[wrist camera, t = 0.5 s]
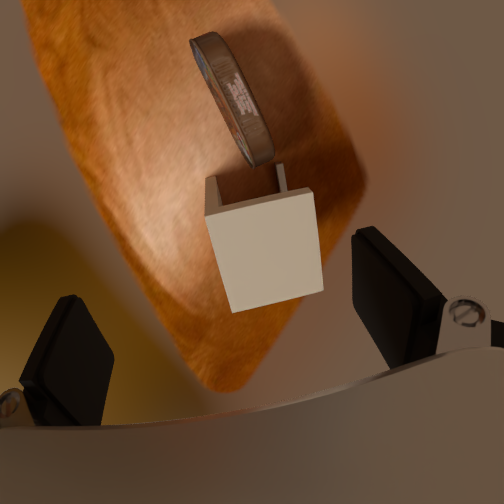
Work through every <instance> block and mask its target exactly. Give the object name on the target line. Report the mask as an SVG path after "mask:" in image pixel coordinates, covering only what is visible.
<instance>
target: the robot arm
mask: <svg viewBox="0 0 504 504" xmlns="http://www.w3.org/2000/svg"><path fill="white" fill-rule="evenodd" d="M351 245H352V296H353V297H352V299H353V305H354V308H355V310H356V312H357V314H358V315H359V317H360V319H361V320H362V322H363V323H364V325H365V327H366V328H367V330H368V332H369V334H370V335H371V337H372V338H373V340H374V342H375V344H376V345H377V347H378V349H379V350H380V352H381V354H382V356H383V357H384V359H385V361H386V363H387V364H388V366H389V368H390V370H388V371H385V372H382V373H379V374H376V375H373V376H370V377H366V378H363V379H360V380H357V381H354V382H350V383H347V384H344V385H340V386H337V387H333V388H330V389H326V390H323V391H319V392H316V393H312V394H308V395H304V396H301V397H296V398H293V399H288V400H284V401H280V402H275V403H271V404H266V405H262V406H256V407H252V408H247V409H241V410H236V411H231V412H225V413H219V414H213V415H207V416H200V417H193V418H185V419H177V420H168V421H159V422H149V423H138V424H123V425H103V426H101V421H102V416H103V410H104V405H105V400H106V396H107V391H108V386H109V382H110V377H111V373H112V369H113V364H114V354H113V352H112V350H111V348H110V347H109V345H108V344H107V342H106V340H105V339H104V337H103V335H102V334H101V332H100V330H99V328H98V327H97V325H96V323H95V321H94V320H93V318H92V316H91V315H90V313H89V311H88V309H87V307H86V305H85V303H84V302H83V300H82V299H81V298H78V297H77V296H76V295H69V296H65V297H61V298H60V299H59V300H58V302H57V304H56V306H55V307H54V309H53V311H52V313H51V315H50V317H49V319H48V320H47V322H46V324H45V326H44V328H43V330H42V332H41V334H40V337H39V338H38V340H37V342H36V344H35V346H34V348H33V351H32V352H31V355H30V357H29V359H28V361H27V363H26V365H25V368H24V370H23V372H22V374H21V377H20V379H19V382H20V383H21V384H22V386H23V387H24V390H23V392H22V391H21V390H20V389H18V388H11V389H8V390H6V391H4V392H3V393H2V394H1V395H0V504H504V323H503V322H499V321H494V320H491V315H490V311H489V309H488V308H487V306H486V305H485V304H484V303H483V302H481V301H480V300H478V299H476V298H473V297H470V296H457V297H454V298H451V299H450V300H447V299H446V298H445V297H444V296H443V295H442V293H441V292H440V291H439V290H438V289H437V288H436V287H435V286H434V285H433V283H432V282H431V281H430V280H429V279H428V278H426V276H425V275H424V274H423V273H422V272H421V271H420V270H419V269H418V268H417V267H416V266H415V265H414V264H413V263H412V262H411V261H410V260H409V259H408V258H407V257H406V256H405V255H404V254H403V253H402V252H401V251H400V250H398V248H396V247H395V246H394V245H393V244H392V243H391V242H390V241H389V240H388V239H387V238H386V237H385V236H384V235H383V234H382V233H380V231H378V230H377V229H376V228H375V227H374V226H370V227H366V228H361V229H357V230H356V234H355V235H352V237H351Z"/></svg>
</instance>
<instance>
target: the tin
mask: <svg viewBox="0 0 504 504" xmlns="http://www.w3.org/2000/svg"><path fill="white" fill-rule="evenodd" d="M189 43H190V47H191V49H192V52H193V55H194V58H195V60H196V63H197V65H198V67H199V69H200V71H201V73H202V75H203V77H204V79H205V81H206V83H207V85H208V87H209V89H210V91H211V93H212V95H213V97H214V99H215V102H216V104H217V106H218V108H219V110H220V112H221V114H222V116H223V118H224V120H225V122H226V124H227V126H228V128H229V130H230V132H231V134H232V136H233V138H234V140H235V142H236V144H237V146H238V148H239V149H240V151H241V153H242V155H243V156H244V158H245V160H246V161H247V163H248V164H249V165H250V167H251V168H252V169H255V168H256V167H258V166H260V165H262V164H264V163H266V162H268V161H270V160H272V159H273V158H274V156H275V149H274V144H273V141H272V138H271V135H270V132H269V130H268V127H267V125H266V122H265V120H264V118H263V116H262V113H261V111H260V109H259V107H258V105H257V102H256V100H255V98H254V96H253V94H252V92H251V90H250V87H249V85H248V83H247V81H246V79H245V77H244V75H243V73H242V71H241V69H240V67H239V65H238V63H237V61H236V59H235V57H234V55H233V54H232V52H231V50H230V48H229V47H228V45H227V44H226V42H225V41H224V40H223V38H222V37H221V36H220V35H219V34H218V33H216V32H208V33H206V34H203V35H201V36H199V37H196V38H194V39H190V40H189Z"/></svg>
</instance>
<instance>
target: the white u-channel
mask: <svg viewBox="0 0 504 504" xmlns="http://www.w3.org/2000/svg"><path fill="white" fill-rule="evenodd" d="M274 165H275V170H276V176H277V181H278V187H279V193H277V194H273V195H268V196H264V197H259V198H255V199H250V200H246V201H242V202H237V203H233V204H229V205H225V206H223V204H222V200H221V196H220V192H219V188H218V184H217V180H216V176H213V177H209V178H205V220H206V224H207V227H208V231H209V235H210V238H211V242H212V245H213V249H214V252H215V256H216V259H217V263H218V266H219V270H220V273H221V277H222V280H223V283H224V287H225V290H226V294H227V297H228V300H229V304H230V307H231V310H232V313H234V312H238V311H243V310H247V309H251V308H256V307H260V306H264V305H268V304H272V303H276V302H280V301H284V300H289V299H292V298H296V297H300V296H304V295H308V294H312V293H316V292H320V291H323V280H322V268H321V258H320V248H319V239H318V230H317V221H316V213H315V205H314V197H313V192H312V191H311V190H310V189H309V188H308V187H306V188H301V189H296V190H291V191H288V190H287V184H286V178H285V172H284V167H283V163H282V162H276V163H274Z"/></svg>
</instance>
